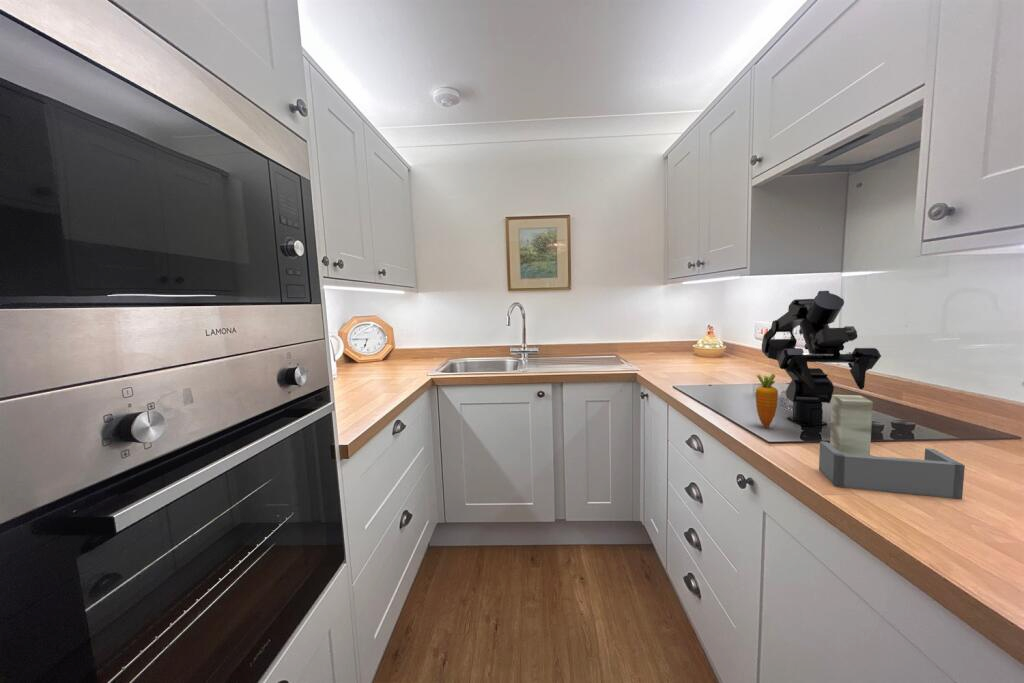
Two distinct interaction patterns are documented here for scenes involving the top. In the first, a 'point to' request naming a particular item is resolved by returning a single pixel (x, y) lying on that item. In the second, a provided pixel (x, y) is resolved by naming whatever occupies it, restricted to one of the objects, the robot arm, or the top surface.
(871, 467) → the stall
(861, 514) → the top surface
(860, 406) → the sage block
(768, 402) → the carrot
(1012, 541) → the top surface
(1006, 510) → the top surface
